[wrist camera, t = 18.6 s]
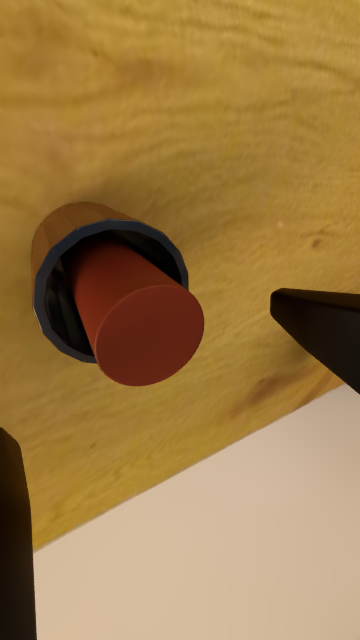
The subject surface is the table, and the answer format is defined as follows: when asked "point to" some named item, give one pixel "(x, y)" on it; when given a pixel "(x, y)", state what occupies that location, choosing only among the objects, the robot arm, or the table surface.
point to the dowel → (131, 311)
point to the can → (50, 279)
